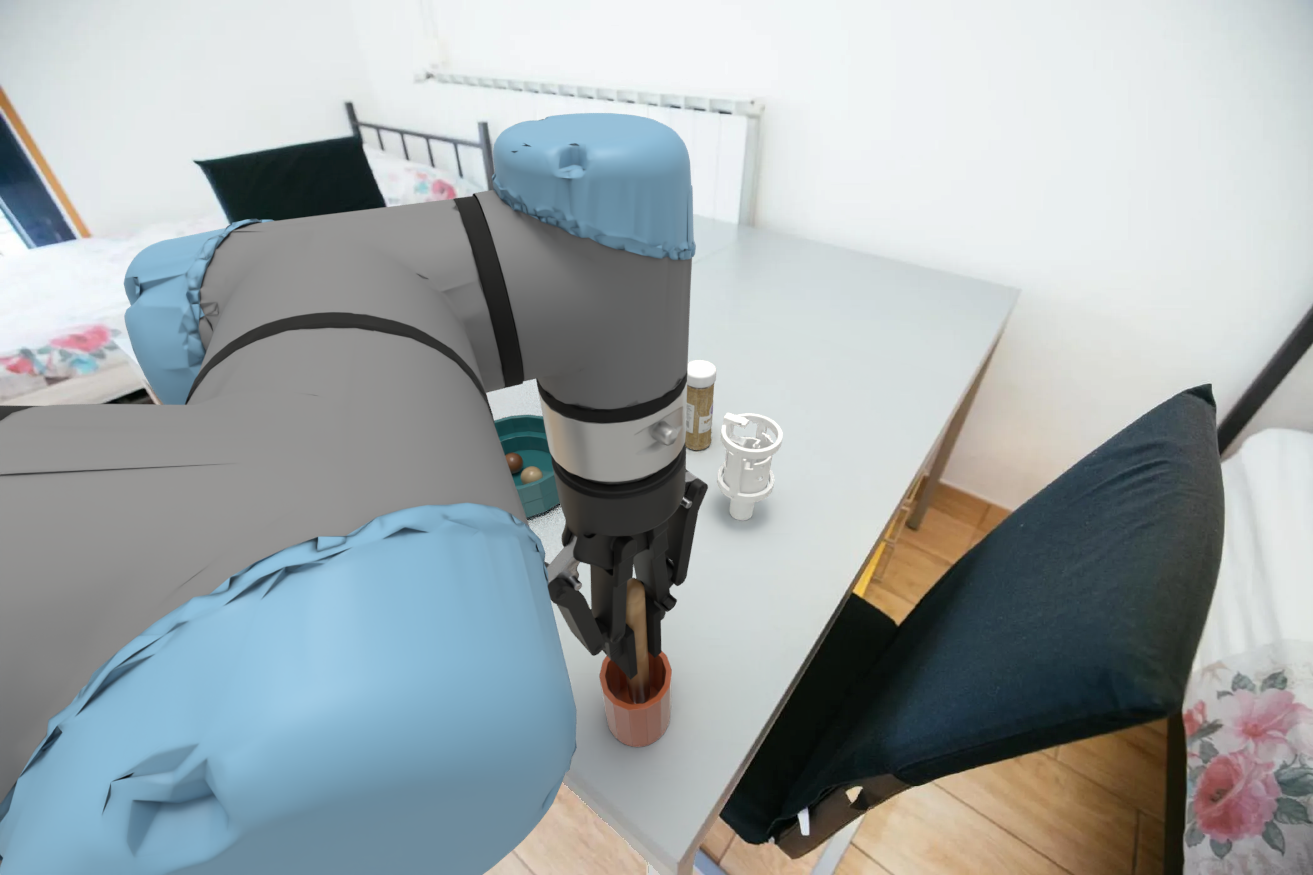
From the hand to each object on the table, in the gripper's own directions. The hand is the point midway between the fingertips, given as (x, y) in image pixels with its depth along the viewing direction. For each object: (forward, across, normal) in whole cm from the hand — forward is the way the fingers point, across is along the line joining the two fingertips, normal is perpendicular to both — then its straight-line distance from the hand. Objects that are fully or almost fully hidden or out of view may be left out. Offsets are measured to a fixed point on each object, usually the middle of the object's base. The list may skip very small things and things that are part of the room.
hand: (635, 654), depth 45 cm
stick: (+8, 0, 0) cm, 8 cm away
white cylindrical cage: (+11, +27, +10) cm, 31 cm away
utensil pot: (+11, 0, 0) cm, 11 cm away
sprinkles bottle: (+12, +33, +24) cm, 42 cm away
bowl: (+11, +9, +35) cm, 38 cm away
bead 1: (+9, +9, +37) cm, 39 cm away
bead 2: (+9, +9, +33) cm, 35 cm away
